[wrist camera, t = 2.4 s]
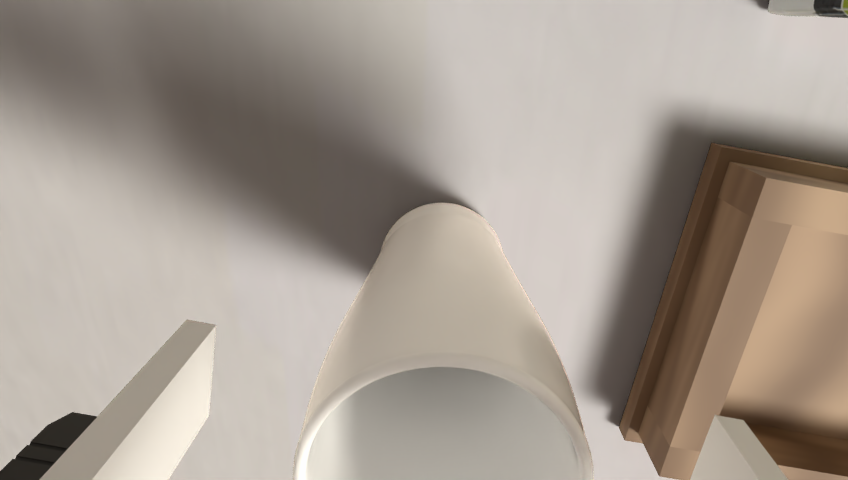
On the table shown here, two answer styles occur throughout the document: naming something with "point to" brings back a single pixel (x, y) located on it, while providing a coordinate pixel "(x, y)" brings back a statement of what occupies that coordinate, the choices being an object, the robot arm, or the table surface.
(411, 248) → the drinking glass
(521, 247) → the table surface
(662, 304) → the walnut dock
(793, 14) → the tea box
